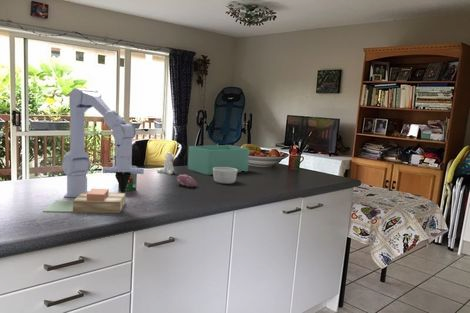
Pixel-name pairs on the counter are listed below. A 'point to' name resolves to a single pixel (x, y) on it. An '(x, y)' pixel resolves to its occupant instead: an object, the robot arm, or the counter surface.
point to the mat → (60, 206)
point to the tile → (97, 194)
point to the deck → (99, 203)
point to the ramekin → (224, 174)
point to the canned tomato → (131, 183)
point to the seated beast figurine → (167, 164)
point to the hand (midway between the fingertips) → (123, 192)
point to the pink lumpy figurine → (188, 179)
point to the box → (217, 158)
